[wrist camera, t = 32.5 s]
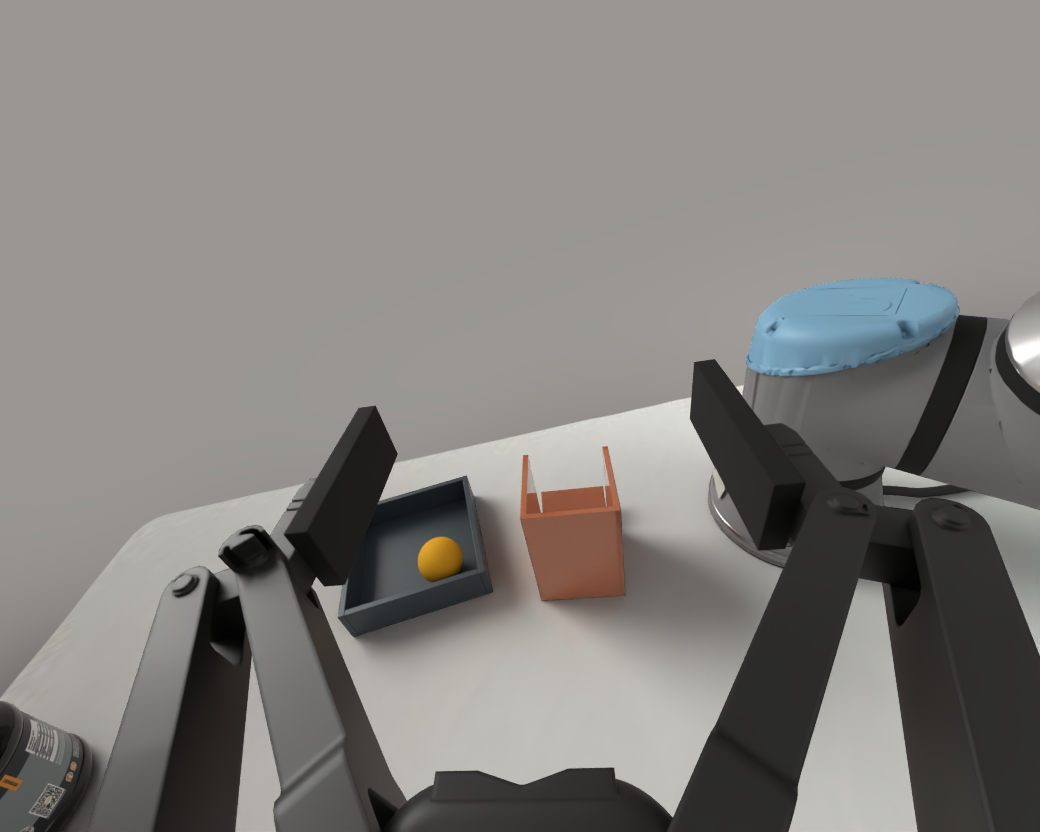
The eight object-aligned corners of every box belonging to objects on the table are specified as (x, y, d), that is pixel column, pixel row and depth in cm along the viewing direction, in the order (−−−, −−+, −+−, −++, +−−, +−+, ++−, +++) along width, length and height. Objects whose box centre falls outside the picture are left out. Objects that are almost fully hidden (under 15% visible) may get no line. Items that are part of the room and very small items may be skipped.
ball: (449, 522, 43) (450, 536, 47) (407, 545, 41) (412, 557, 45) (471, 561, 41) (470, 572, 45) (428, 587, 39) (431, 596, 43)
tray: (473, 495, 54) (466, 475, 51) (492, 592, 42) (485, 571, 40) (364, 528, 52) (352, 508, 50) (353, 637, 41) (337, 618, 39)
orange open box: (625, 595, 39) (620, 510, 32) (541, 600, 40) (520, 519, 33) (608, 503, 49) (602, 421, 42) (540, 509, 50) (524, 430, 43)
